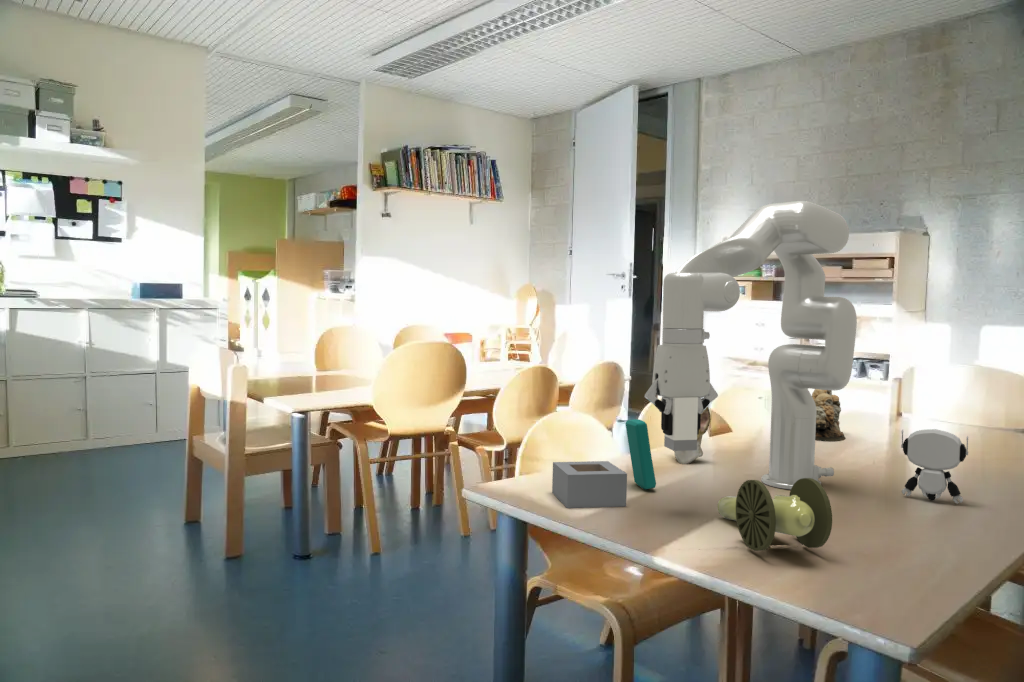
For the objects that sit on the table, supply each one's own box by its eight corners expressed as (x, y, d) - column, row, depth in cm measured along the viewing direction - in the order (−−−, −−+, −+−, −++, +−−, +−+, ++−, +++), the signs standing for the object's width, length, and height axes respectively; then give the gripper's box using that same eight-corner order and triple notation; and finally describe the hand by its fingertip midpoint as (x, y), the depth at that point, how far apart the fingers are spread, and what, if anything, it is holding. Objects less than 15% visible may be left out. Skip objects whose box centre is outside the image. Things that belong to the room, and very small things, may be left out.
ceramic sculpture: (658, 463, 190) (660, 404, 190) (675, 459, 197) (677, 401, 196) (697, 470, 183) (699, 409, 183) (713, 465, 190) (715, 406, 189)
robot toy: (966, 502, 157) (970, 431, 157) (964, 507, 154) (968, 434, 153) (901, 493, 164) (904, 424, 164) (897, 497, 161) (901, 427, 160)
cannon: (697, 518, 141) (699, 458, 141) (754, 516, 144) (756, 456, 143) (771, 563, 117) (774, 490, 116) (838, 559, 119) (841, 488, 119)
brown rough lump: (841, 448, 218) (843, 389, 217) (798, 443, 225) (800, 386, 224) (851, 440, 233) (853, 385, 233) (811, 435, 240) (813, 382, 239)
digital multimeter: (646, 492, 159) (659, 489, 160) (635, 422, 159) (648, 420, 160) (634, 486, 167) (646, 483, 167) (623, 420, 166) (636, 417, 167)
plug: (686, 445, 146) (687, 394, 146) (696, 450, 142) (697, 397, 141) (664, 446, 145) (665, 394, 145) (673, 450, 141) (674, 397, 140)
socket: (607, 491, 160) (607, 461, 160) (626, 506, 148) (627, 473, 148) (552, 492, 158) (552, 462, 157) (567, 508, 146) (567, 474, 146)
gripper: (715, 337, 148) (713, 429, 149) (633, 337, 145) (631, 431, 146) (733, 339, 140) (731, 436, 141) (647, 339, 137) (645, 438, 138)
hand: (680, 432), depth 143 cm, fingers closed on plug, 4 cm apart
